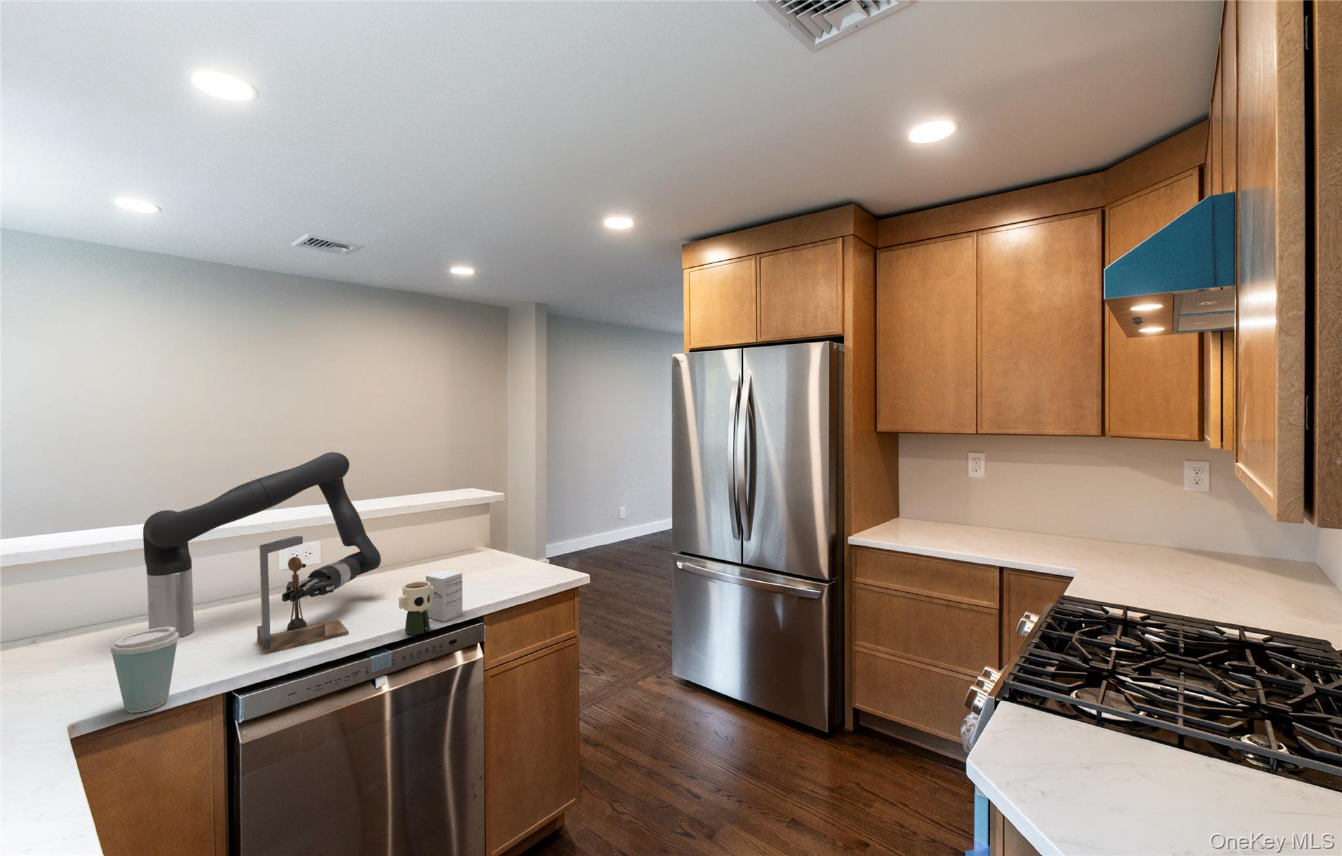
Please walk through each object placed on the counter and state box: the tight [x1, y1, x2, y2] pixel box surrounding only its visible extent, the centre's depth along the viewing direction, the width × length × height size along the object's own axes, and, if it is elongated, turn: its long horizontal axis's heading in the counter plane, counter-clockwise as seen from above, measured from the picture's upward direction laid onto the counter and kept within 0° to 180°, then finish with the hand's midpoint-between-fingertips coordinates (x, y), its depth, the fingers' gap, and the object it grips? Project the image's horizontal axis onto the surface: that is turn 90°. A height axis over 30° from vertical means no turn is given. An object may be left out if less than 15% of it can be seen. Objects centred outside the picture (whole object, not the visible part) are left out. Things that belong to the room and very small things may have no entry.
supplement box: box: [425, 569, 463, 623], centre depth 173 cm, size 7×7×13 cm
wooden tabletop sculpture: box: [286, 556, 308, 631], centre depth 157 cm, size 6×5×20 cm
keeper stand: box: [256, 535, 350, 655], centre depth 156 cm, size 19×11×27 cm, turn 132°
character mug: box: [398, 580, 434, 635], centre depth 161 cm, size 11×7×13 cm, turn 152°
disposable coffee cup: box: [110, 627, 181, 714], centre depth 122 cm, size 11×11×15 cm
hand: (287, 598), depth 154 cm, fingers closed on wooden tabletop sculpture, 1 cm apart
